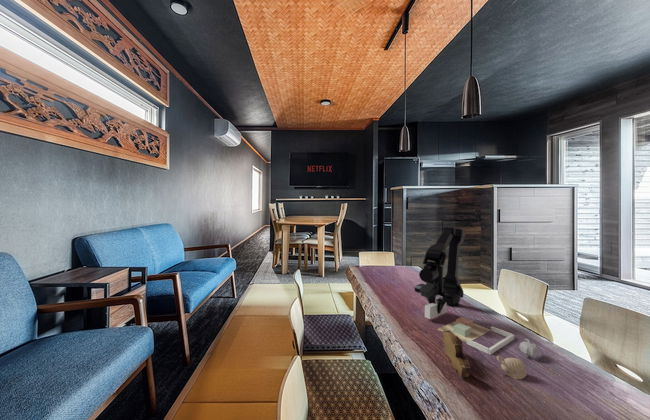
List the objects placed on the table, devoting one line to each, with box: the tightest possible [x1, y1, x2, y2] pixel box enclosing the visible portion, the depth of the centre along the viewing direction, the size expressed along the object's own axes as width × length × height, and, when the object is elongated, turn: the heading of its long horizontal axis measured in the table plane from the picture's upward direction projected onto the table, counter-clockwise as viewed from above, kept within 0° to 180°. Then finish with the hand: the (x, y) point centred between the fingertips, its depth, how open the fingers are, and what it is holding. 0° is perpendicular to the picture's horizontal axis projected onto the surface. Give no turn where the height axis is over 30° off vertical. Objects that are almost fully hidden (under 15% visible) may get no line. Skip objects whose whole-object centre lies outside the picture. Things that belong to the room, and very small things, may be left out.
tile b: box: [453, 323, 471, 337], centre depth 98 cm, size 4×4×2 cm
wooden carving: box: [441, 330, 472, 378], centre depth 81 cm, size 16×5×10 cm, turn 179°
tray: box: [466, 325, 516, 356], centre depth 92 cm, size 18×8×3 cm, turn 122°
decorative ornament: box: [496, 355, 527, 380], centre depth 77 cm, size 4×8×5 cm, turn 77°
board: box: [437, 320, 491, 344], centre depth 101 cm, size 17×12×2 cm
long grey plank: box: [424, 300, 448, 320], centre depth 111 cm, size 12×2×5 cm, turn 122°
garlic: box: [518, 338, 540, 360], centre depth 86 cm, size 6×5×5 cm
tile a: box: [455, 316, 474, 328], centre depth 104 cm, size 4×4×2 cm
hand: (435, 312), depth 111 cm, fingers closed on long grey plank, 2 cm apart
